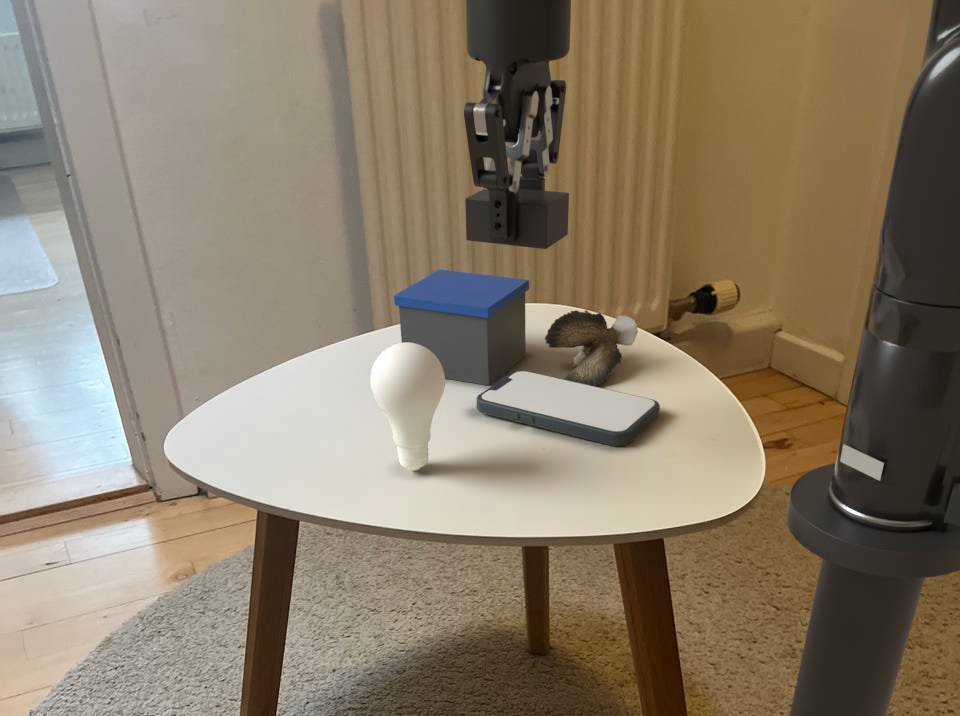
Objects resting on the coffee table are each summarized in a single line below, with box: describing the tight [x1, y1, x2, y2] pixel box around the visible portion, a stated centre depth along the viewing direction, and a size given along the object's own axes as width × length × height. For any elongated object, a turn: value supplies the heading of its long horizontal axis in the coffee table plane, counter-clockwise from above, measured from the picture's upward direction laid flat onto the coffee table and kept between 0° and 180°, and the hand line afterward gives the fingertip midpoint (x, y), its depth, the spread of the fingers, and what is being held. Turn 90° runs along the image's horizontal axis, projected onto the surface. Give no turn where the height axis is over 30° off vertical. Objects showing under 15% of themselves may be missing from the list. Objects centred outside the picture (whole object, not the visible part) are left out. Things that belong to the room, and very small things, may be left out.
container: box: [393, 269, 530, 387], centre depth 102 cm, size 11×10×8 cm
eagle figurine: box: [544, 309, 639, 387], centre depth 100 cm, size 8×7×9 cm
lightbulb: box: [369, 342, 446, 472], centre depth 82 cm, size 6×6×11 cm
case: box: [464, 188, 570, 250], centre depth 79 cm, size 7×5×3 cm, turn 64°
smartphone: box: [476, 370, 661, 447], centre depth 93 cm, size 9×2×16 cm
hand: (517, 232), depth 79 cm, fingers closed on case, 4 cm apart
